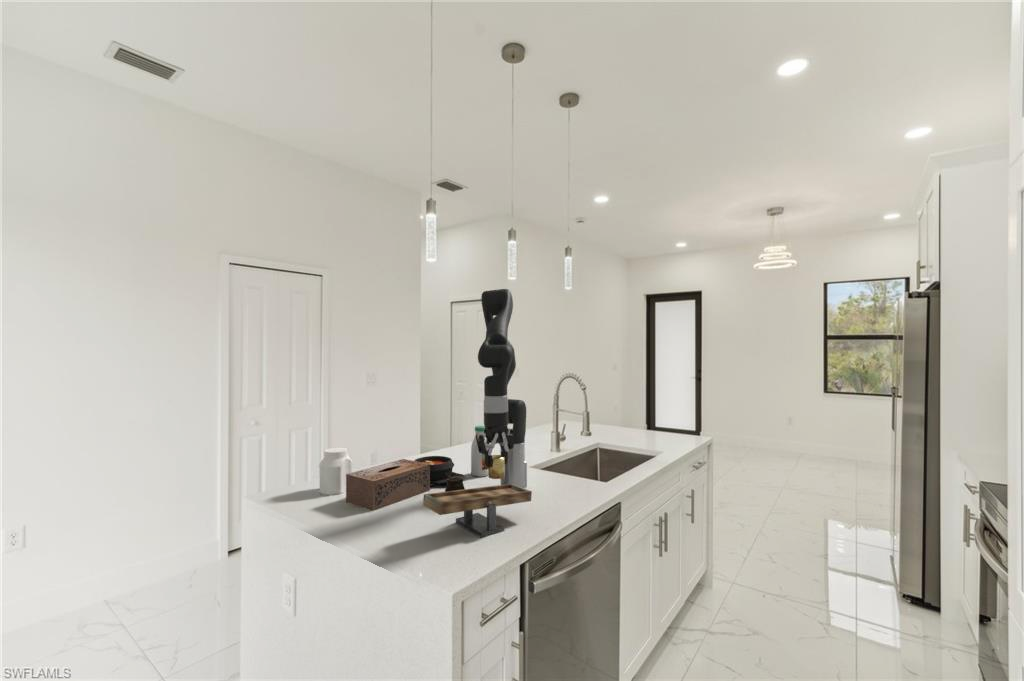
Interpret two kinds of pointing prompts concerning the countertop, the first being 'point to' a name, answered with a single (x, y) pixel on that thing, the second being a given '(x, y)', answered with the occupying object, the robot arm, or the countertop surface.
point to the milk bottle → (478, 456)
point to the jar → (334, 471)
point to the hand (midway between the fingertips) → (496, 465)
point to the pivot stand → (481, 522)
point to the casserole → (439, 468)
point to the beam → (475, 498)
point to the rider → (497, 467)
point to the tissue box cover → (387, 484)
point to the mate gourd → (454, 483)
